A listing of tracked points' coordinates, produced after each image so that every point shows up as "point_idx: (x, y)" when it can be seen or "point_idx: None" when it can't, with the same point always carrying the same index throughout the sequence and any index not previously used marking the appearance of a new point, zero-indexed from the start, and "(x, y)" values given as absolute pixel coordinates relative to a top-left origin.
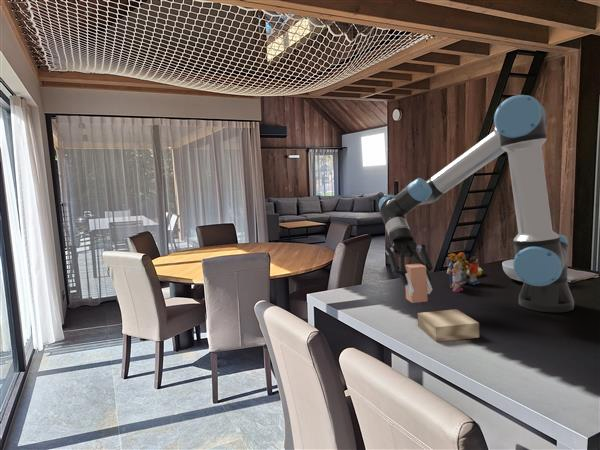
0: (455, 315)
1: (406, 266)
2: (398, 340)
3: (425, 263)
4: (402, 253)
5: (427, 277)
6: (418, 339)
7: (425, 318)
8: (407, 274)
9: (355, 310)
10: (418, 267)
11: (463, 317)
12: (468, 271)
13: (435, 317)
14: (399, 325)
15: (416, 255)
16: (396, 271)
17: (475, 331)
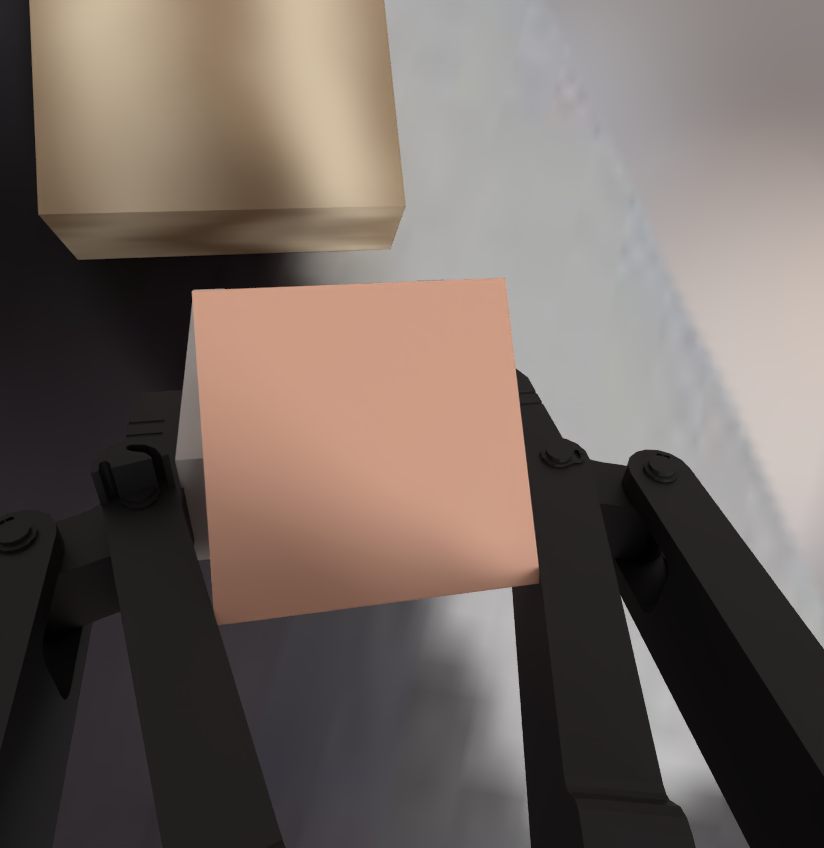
0: (127, 69)
1: (523, 476)
2: (570, 59)
3: (46, 724)
4: (643, 841)
5: (188, 385)
6: (453, 43)
7: (385, 73)
8: None
9: None
10: (350, 286)
11: (84, 12)
12: None
13: (303, 72)
14: (508, 293)
15: (214, 842)
16: (667, 453)
17: None
